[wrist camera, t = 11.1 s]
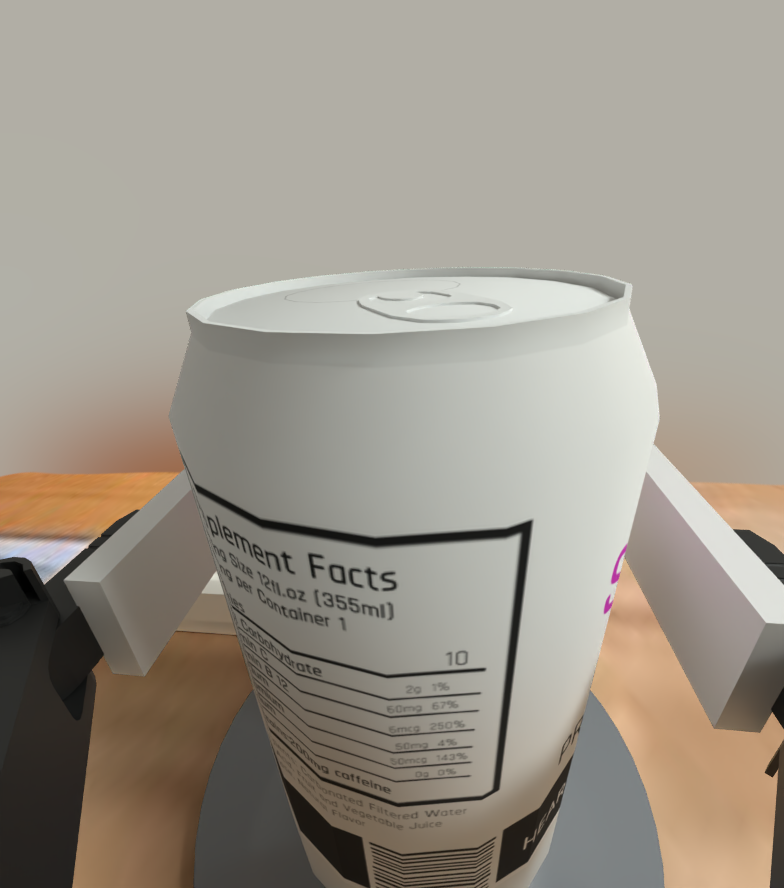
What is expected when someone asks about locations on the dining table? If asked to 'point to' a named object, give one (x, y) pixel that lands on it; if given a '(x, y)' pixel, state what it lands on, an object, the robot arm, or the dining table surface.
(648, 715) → the dining table surface
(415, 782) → the supplement can
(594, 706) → the slate coaster
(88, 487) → the dining table surface
